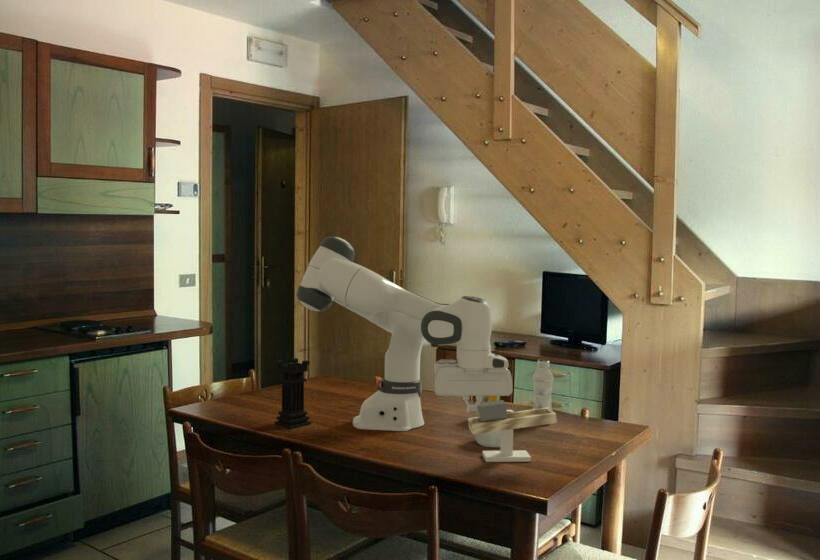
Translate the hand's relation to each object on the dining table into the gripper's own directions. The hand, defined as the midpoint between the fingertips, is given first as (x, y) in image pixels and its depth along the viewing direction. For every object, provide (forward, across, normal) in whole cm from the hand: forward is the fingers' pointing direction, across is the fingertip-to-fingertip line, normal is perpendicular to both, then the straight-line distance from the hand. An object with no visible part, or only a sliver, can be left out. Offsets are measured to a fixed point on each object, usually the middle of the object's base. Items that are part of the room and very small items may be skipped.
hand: (472, 412), depth 195 cm
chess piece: (+15, -50, +42) cm, 67 cm away
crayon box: (+14, +12, +45) cm, 49 cm away
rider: (+3, +6, 0) cm, 6 cm away
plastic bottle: (+14, +29, +42) cm, 53 cm away
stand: (+14, +10, +6) cm, 18 cm away
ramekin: (+14, +9, +20) cm, 27 cm away
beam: (+3, +11, +1) cm, 11 cm away
